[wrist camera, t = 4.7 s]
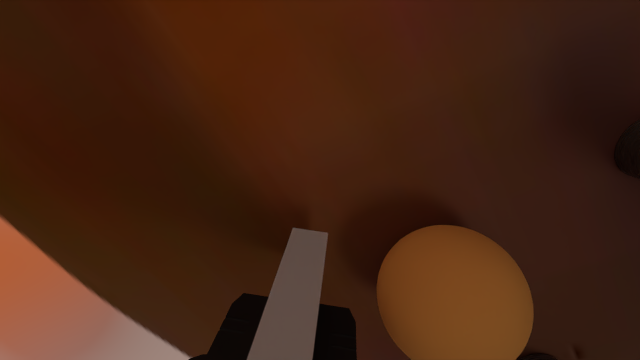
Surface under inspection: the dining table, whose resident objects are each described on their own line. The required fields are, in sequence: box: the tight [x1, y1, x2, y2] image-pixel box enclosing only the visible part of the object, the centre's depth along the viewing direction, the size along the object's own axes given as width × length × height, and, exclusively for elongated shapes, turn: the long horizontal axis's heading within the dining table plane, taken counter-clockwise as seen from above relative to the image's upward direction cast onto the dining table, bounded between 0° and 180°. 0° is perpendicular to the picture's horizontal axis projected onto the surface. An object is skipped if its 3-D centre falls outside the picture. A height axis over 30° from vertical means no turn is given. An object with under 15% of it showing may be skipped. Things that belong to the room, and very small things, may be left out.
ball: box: [377, 225, 534, 360], centre depth 12 cm, size 6×6×6 cm
